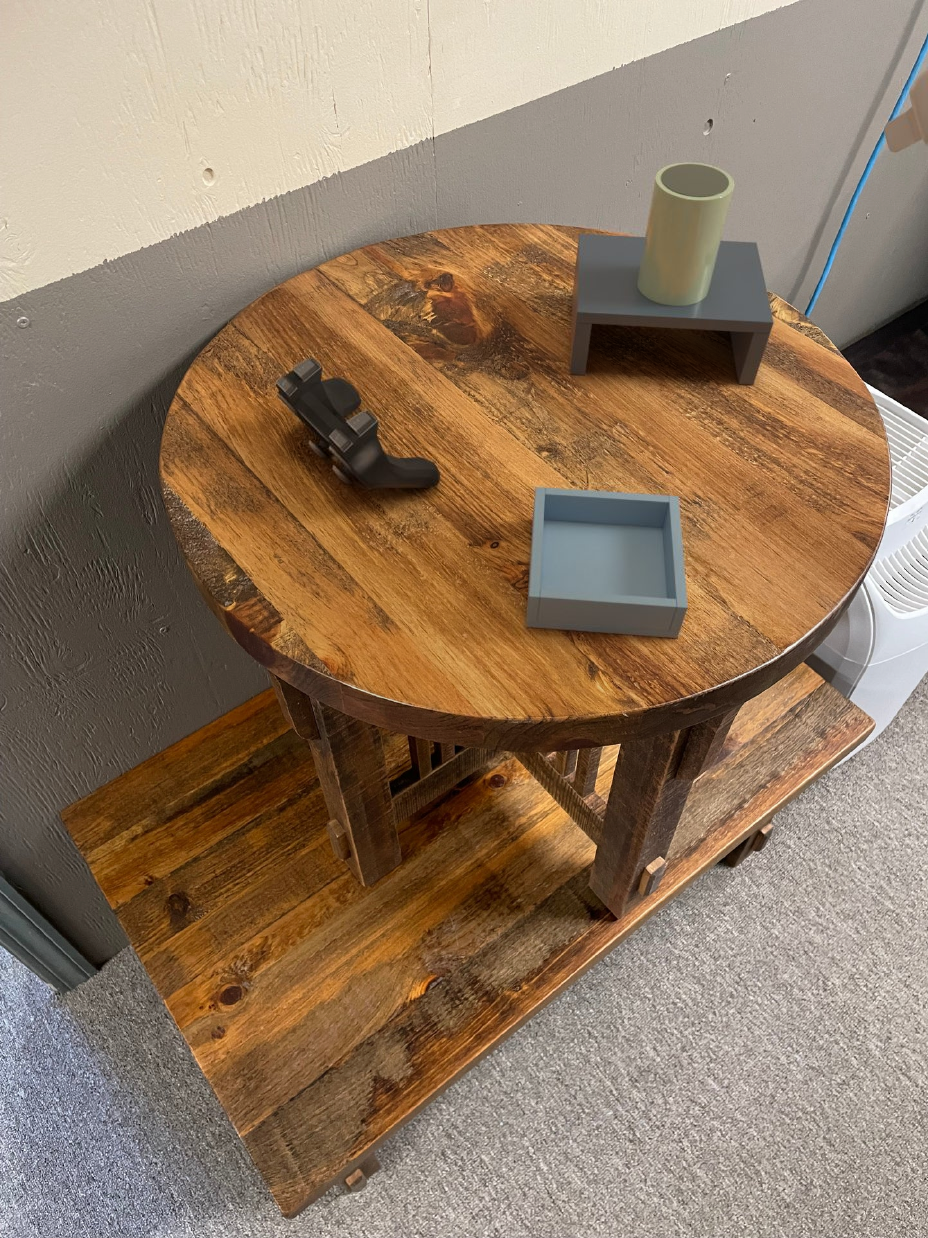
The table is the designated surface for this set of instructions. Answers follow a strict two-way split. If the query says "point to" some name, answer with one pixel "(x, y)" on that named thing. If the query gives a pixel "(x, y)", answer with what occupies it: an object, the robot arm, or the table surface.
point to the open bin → (606, 563)
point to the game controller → (349, 431)
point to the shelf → (616, 300)
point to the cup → (684, 232)
